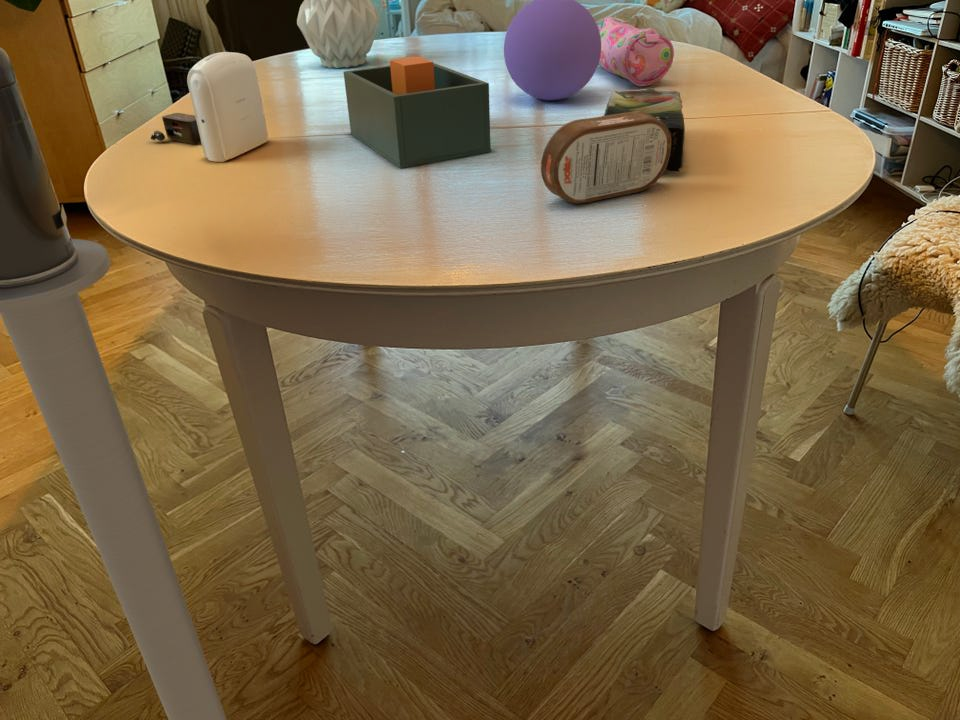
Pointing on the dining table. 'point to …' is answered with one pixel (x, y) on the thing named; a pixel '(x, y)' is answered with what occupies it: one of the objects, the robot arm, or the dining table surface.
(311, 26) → the vase
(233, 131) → the photo printer
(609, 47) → the pencil case
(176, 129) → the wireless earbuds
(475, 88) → the trash bin
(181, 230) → the dining table surface
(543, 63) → the decorative ball
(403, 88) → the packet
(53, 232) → the robot arm
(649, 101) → the juice carton
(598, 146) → the tin
